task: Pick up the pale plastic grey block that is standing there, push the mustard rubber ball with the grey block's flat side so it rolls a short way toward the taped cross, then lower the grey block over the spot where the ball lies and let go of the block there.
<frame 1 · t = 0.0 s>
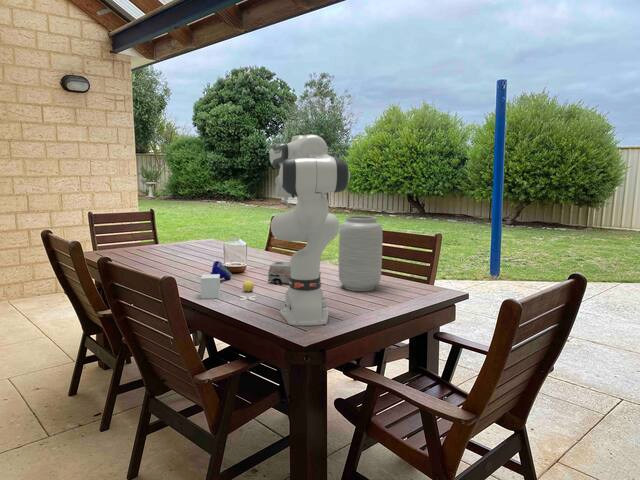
hand: (299, 207, 196), 39 cm above the table, tool pointing down, fingers open, 8 cm apart
toy gun: (220, 282, 228), on the table
grey block: (210, 296, 201), on the table
ball: (248, 285, 209), on the table
toy car: (294, 284, 227), on the table
vase: (359, 288, 220), on the table
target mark: (247, 298, 198), on the table
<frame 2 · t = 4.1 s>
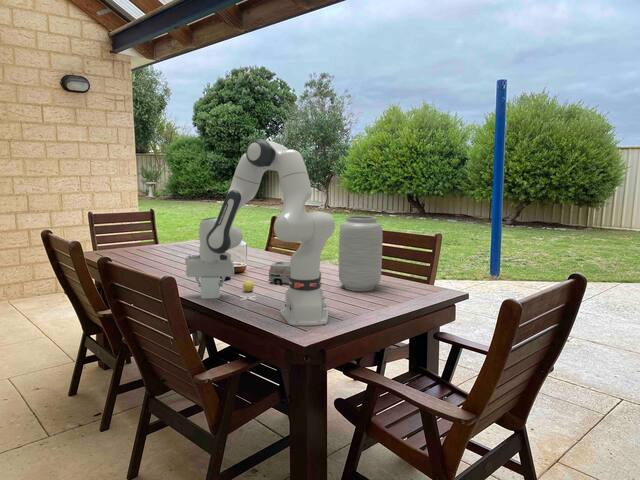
hand: (210, 286, 200), 4 cm above the table, tool pointing down, fingers closed on grey block, 7 cm apart
grey block: (210, 296, 201), on the table, touching gripper
everything else where it was.
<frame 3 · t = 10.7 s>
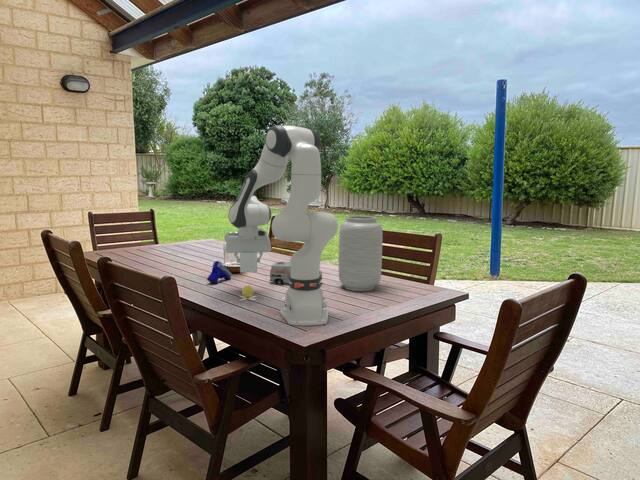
hand: (248, 262, 208), 13 cm above the table, tool pointing down, fingers closed on grey block, 7 cm apart
grey block: (248, 270, 209), point 9 cm above the table, touching gripper
ball: (247, 291, 200), on the table
everything else where it was.
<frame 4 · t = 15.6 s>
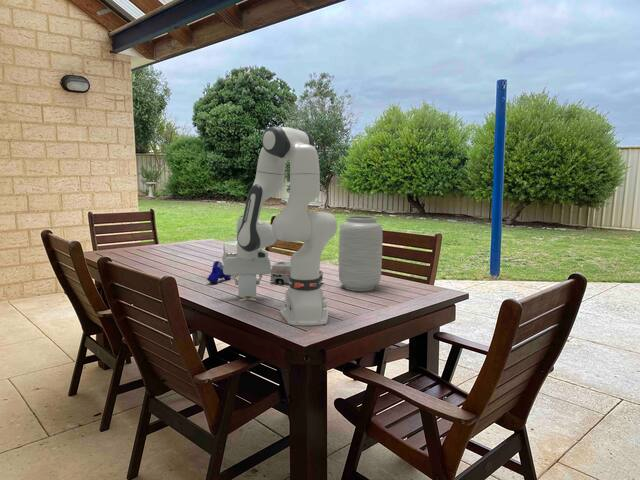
hand: (247, 284, 198), 6 cm above the table, tool pointing down, fingers closed on grey block, 7 cm apart
grey block: (247, 291, 200), point 2 cm above the table, tilted 15°, touching gripper
when the fingers open (5 cm above the table, at t = 16.6 s): grey block drops 1 cm, on the table.
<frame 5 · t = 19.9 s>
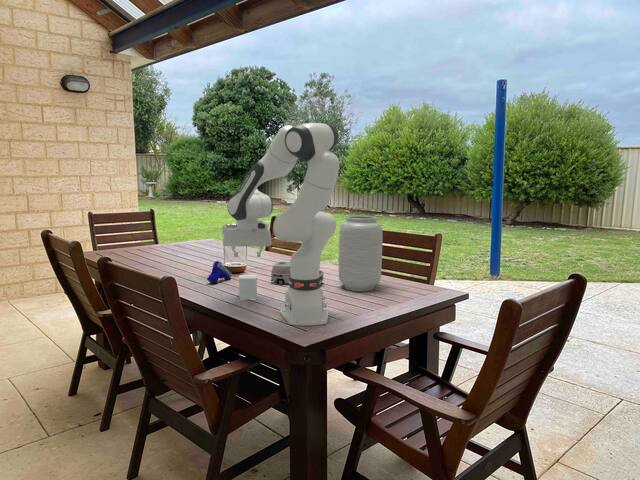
hand: (247, 256, 196), 18 cm above the table, tool pointing down, fingers open, 8 cm apart
grey block: (248, 296, 201), on the table
at the end: ball 0.0 cm from the grey block (horizontally); grey block on the table; ball moved 9.0 cm from its start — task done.
